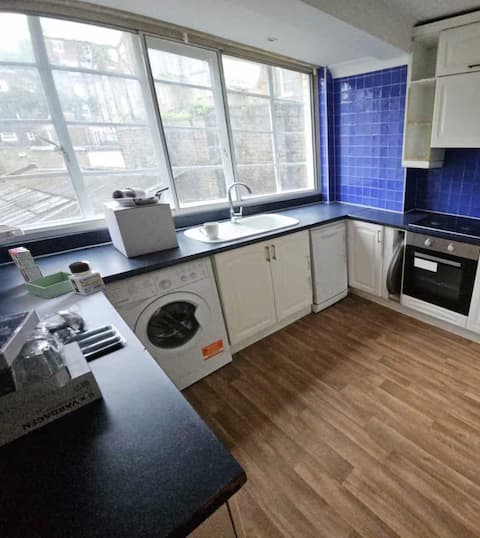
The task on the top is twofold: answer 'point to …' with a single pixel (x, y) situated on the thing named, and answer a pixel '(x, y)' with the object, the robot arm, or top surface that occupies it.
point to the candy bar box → (25, 263)
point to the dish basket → (50, 285)
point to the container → (84, 278)
